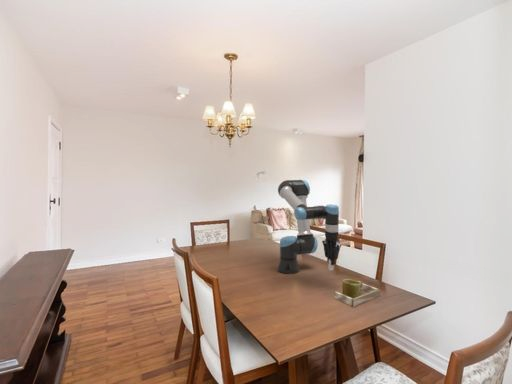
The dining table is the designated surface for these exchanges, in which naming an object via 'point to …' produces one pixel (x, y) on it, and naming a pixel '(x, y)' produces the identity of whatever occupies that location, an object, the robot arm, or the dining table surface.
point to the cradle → (360, 299)
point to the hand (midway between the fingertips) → (331, 269)
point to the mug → (351, 288)
